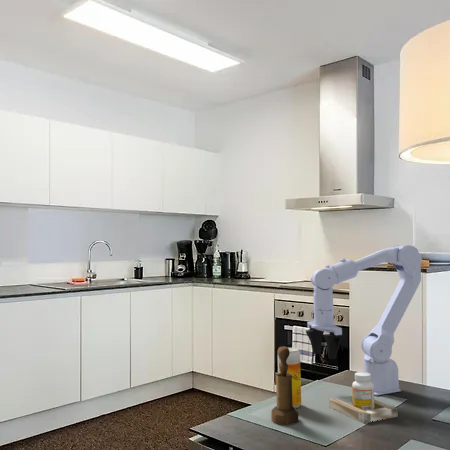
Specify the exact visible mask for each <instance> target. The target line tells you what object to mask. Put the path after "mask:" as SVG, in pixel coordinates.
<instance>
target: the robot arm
mask: <svg viewBox="0 0 450 450" xmlns="http://www.w3.org/2000/svg"><path fill="white" fill-rule="evenodd" d="M422 262H423V258H422V255H421V253H420V251H419V249H417V247H415V246H413V245H410V244H408V245H394V246H392V247H386V248H383V249H380V250H378V251H374V252H373V253H371V254H368V255H366V256H363V257H361V258H358V259H356V260H351V259H349V258H347V259H346V258H341V259H339V262H337V263H334V264H331V265H329V264H328V265H325V268H319V269H316V270H315V271H314V272H313V273H312V276H311V278H310V281H311V283H312V285H313V320H312V321H307V330H305V334H306V335H307V337H308V338H309V342H310V345H311V349H312V353H313V354H314V355H320V354H321V353H322V344H323V343H322V341H323V337H324V340H325V343H326V344H325V345H326V348H327V358H328V360H335V359H337V357H338V356H337V355H338V351H339V347H340V345H341V343H342V341H343V339H344V334H343V328H342V327H339V326H337V324H335V323H334V322H335V321H334V319H335V318H334V315H335V313H334V294H333V288H334V286H335V285H338V284H340V283H343V282H346V281H348V280H351V279H353V278H356V277H357V275H358V273H359V272H360V271H363V270H366V269H368V268H371V267H375V266H378V265H380V264H383V263H386V264H391V265H392V266H393V267H394V268H395V269H396V272H397V273H398V276H399V278H400V279H399V282H398V284H397V285H396V288H395V290H394V291H393V293H392V295H391V297H390V299H389V300H388V303H387V305H386V307H385V309H384V311H383V312H382V315H381V317H380V318H379V320H378V322H377V324H376V325H375V326H374V327H373V328H372V329H371V330H370V332H369V333H368V334H367V335H365V336H364V337H363V339H361V346H360V347H361V350H362V351H363V353H364V356H363V370H364V371H363V372H366V373H370V374H371V380H370V382H372V383H373V385H374V396H380V395H387V394H393V393H397V392H399V393H400V392H402V389H400V384H399V381H400V380H399V366H398V365H397V364H398V363H397V362H396V361H395V360H394V359H392V358H391V356H392V353H393V350H392V349H393V345H394V343H395V333H396V330H397V328H398V326H399V325H400V323H401V321H402V319H403V317H404V315H405V313H406V311H407V309H408V308H409V305H410V303H411V301H412V299H413V297H414V295H415V294H416V291H417V290H418V288H419V285H420V283H421V282H422V267H421V266H422V265H421V264H422ZM324 333H325V334H324Z"/></svg>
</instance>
